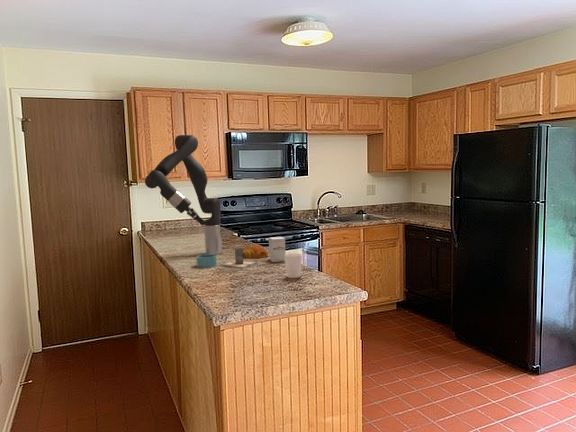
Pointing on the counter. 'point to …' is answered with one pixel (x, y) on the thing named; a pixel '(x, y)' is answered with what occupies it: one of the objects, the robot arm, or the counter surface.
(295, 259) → the white cup
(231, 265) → the lid
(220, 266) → the mat
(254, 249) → the croissant
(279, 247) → the supplement box
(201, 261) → the bowl
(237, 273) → the counter surface
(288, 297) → the counter surface
